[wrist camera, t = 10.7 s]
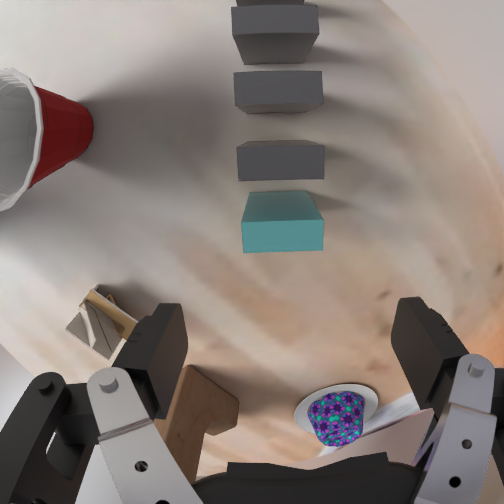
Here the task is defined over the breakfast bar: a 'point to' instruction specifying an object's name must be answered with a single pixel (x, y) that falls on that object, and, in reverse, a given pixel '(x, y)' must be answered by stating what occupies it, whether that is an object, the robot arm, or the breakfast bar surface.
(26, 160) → the plastic cup
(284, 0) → the domino
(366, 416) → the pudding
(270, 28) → the domino
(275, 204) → the domino
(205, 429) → the wooden block
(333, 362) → the breakfast bar surface
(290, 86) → the domino
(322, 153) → the domino
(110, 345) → the architectural model
